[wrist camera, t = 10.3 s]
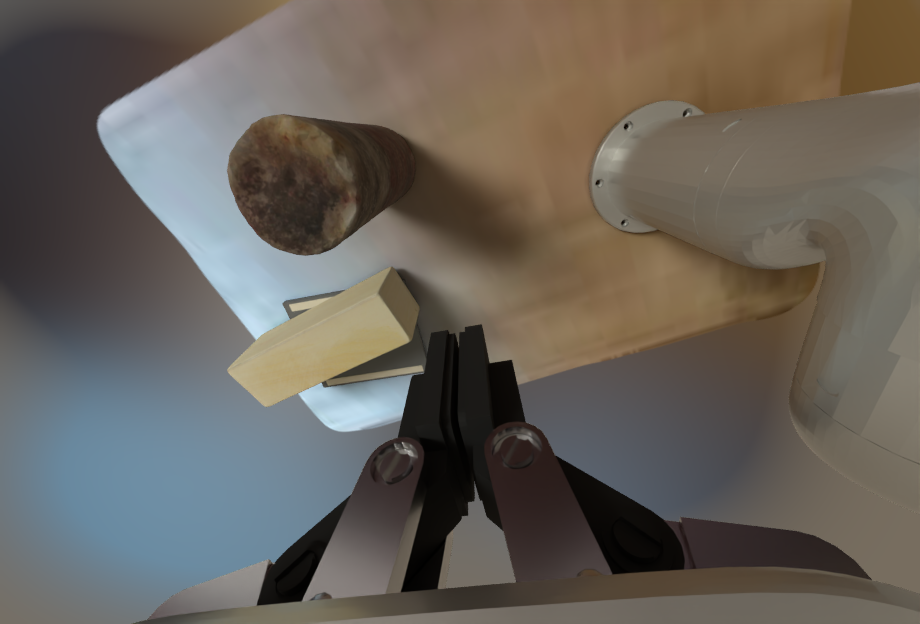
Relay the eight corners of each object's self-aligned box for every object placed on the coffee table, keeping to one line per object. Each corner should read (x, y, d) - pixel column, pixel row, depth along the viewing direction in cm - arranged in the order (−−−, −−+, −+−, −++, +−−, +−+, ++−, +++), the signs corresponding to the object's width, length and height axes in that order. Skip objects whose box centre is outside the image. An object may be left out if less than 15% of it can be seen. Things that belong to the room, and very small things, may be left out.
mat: (404, 279, 41) (402, 281, 40) (430, 368, 47) (429, 371, 46) (285, 300, 42) (282, 303, 41) (326, 383, 48) (323, 388, 48)
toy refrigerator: (423, 312, 42) (297, 371, 46) (393, 264, 39) (260, 333, 43) (417, 347, 35) (268, 413, 39) (378, 291, 32) (222, 370, 36)
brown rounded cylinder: (355, 206, 37) (253, 264, 19) (335, 132, 33) (188, 119, 16) (422, 196, 36) (381, 246, 18) (407, 120, 33) (341, 92, 15)
